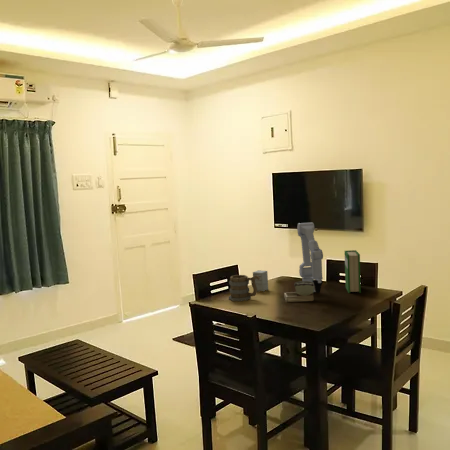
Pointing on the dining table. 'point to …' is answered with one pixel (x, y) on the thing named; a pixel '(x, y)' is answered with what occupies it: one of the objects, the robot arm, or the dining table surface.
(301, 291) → the food container
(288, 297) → the open u-shaped wooden frame
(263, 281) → the supplement box
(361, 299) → the dining table surface
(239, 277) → the tankard
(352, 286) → the hardback book
